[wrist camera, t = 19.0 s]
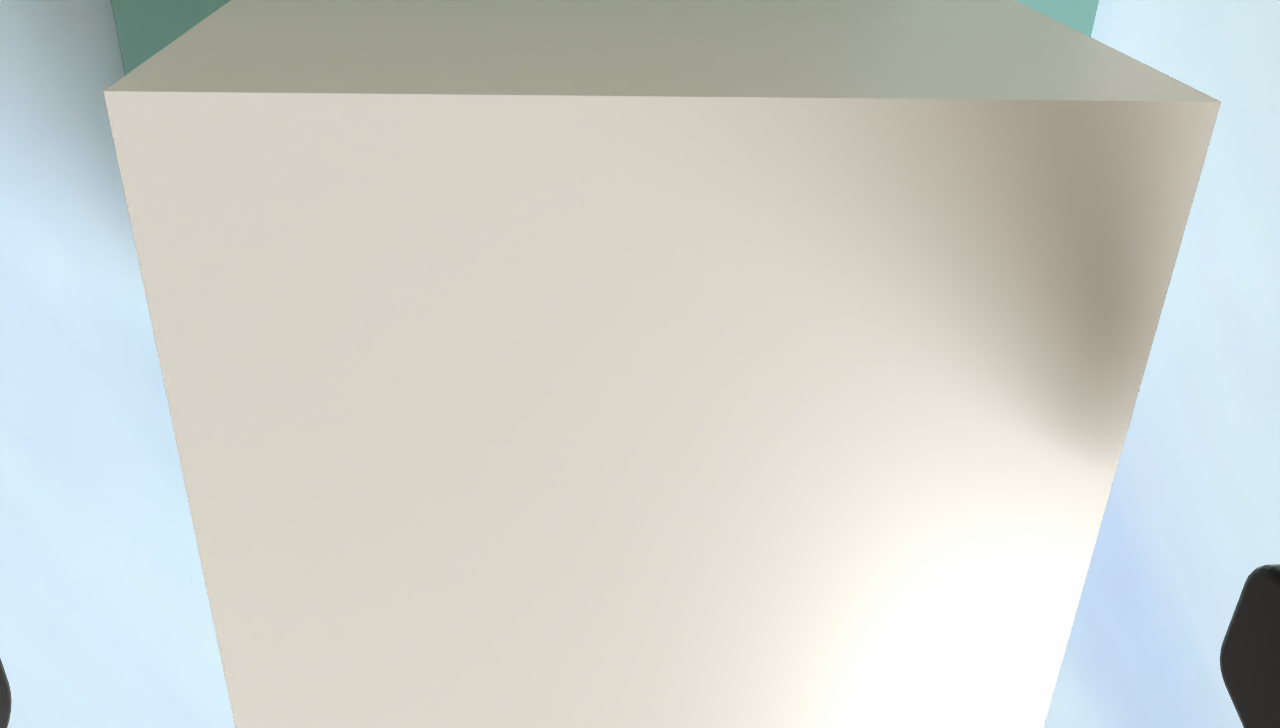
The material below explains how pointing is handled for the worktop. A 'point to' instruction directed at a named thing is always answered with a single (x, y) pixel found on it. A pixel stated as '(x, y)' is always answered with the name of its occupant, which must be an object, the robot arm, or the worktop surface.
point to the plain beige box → (650, 350)
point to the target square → (174, 3)
